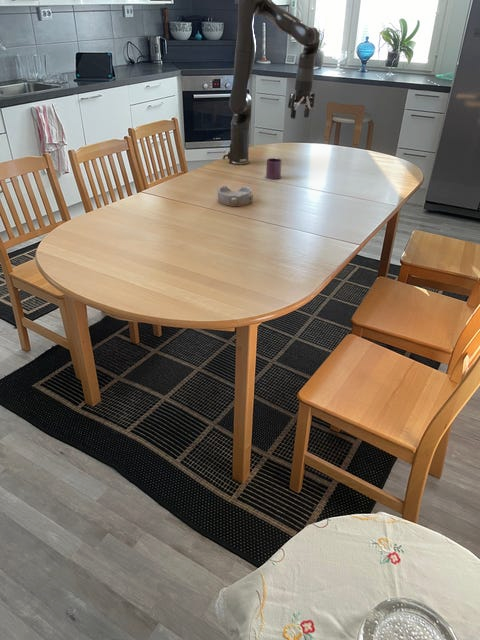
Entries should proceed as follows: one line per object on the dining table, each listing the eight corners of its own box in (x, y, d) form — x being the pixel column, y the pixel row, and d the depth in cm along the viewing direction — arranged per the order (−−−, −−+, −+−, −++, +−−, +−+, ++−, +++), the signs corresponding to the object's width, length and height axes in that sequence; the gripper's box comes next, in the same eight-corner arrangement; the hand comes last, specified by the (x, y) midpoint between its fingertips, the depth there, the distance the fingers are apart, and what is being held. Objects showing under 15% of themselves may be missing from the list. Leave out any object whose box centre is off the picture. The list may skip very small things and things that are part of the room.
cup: (265, 178, 232) (266, 161, 228) (267, 174, 238) (267, 157, 233) (279, 179, 231) (280, 162, 227) (281, 175, 237) (282, 158, 232)
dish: (213, 198, 208) (213, 186, 205) (244, 194, 212) (244, 183, 209) (224, 209, 196) (225, 197, 194) (257, 205, 201) (257, 193, 198)
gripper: (309, 78, 225) (304, 115, 234) (287, 78, 217) (282, 117, 226) (321, 80, 221) (315, 118, 229) (299, 80, 213) (294, 120, 221)
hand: (299, 117), depth 228 cm, fingers open, 8 cm apart
